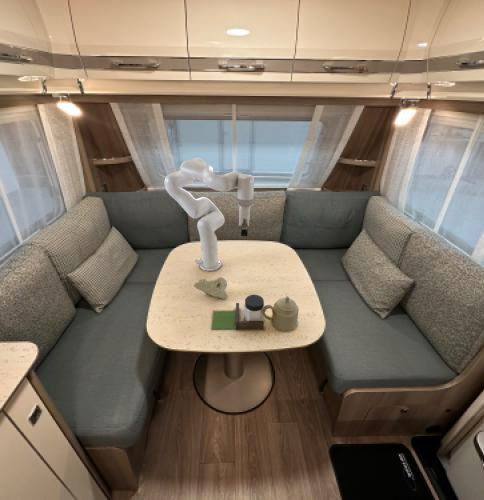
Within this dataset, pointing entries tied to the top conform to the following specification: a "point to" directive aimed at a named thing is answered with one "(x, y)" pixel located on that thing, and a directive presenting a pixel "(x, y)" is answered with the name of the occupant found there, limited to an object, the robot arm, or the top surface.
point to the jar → (254, 308)
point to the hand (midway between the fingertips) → (244, 235)
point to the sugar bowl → (283, 314)
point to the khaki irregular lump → (213, 287)
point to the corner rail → (247, 323)
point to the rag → (223, 320)
